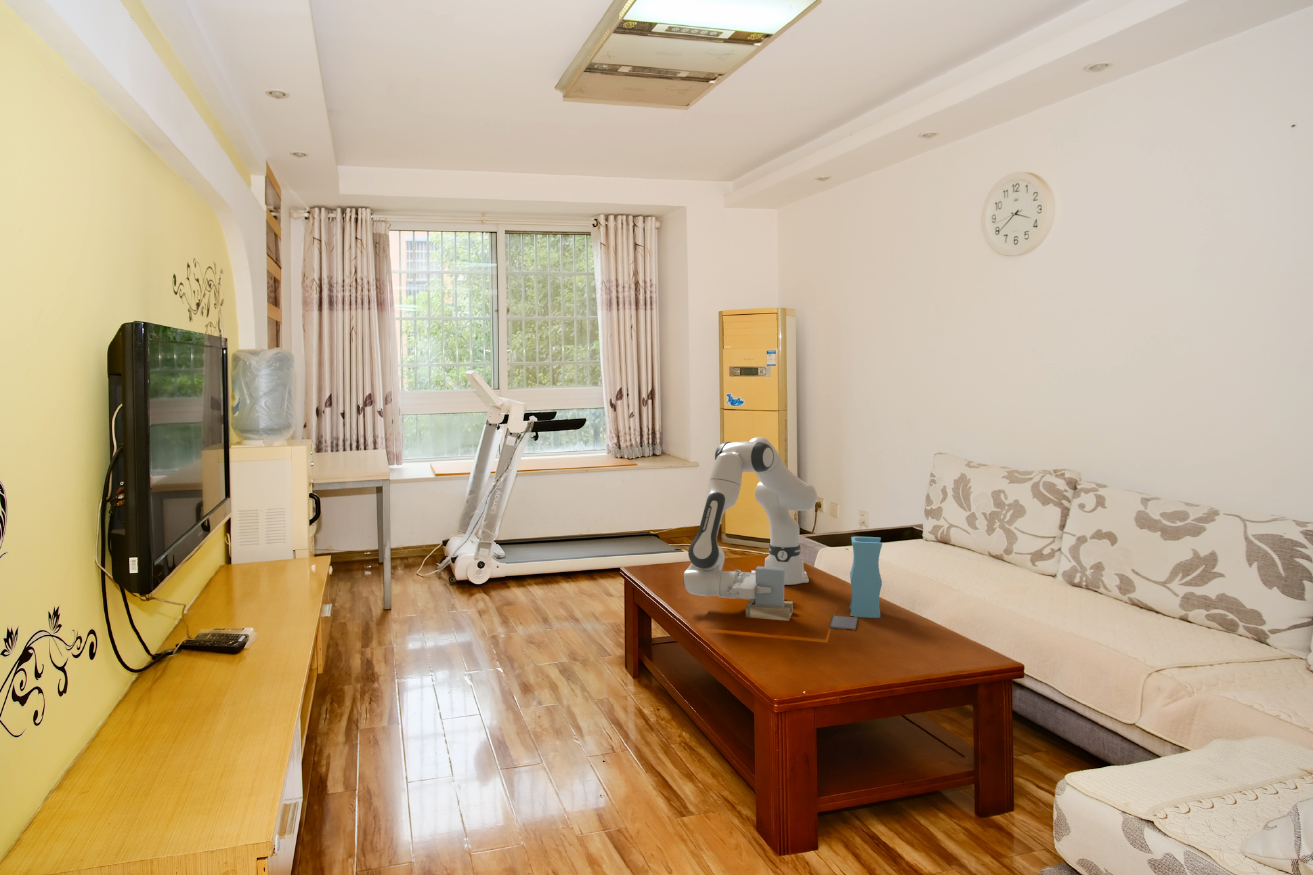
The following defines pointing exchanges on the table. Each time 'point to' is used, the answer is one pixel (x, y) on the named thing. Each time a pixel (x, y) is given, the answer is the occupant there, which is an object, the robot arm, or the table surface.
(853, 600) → the vase
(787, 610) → the birch box
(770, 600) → the cover plate
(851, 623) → the felt pad
